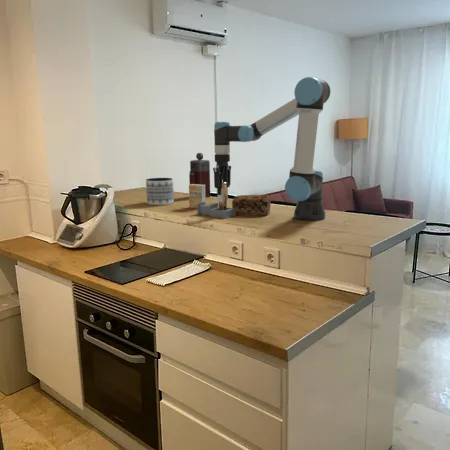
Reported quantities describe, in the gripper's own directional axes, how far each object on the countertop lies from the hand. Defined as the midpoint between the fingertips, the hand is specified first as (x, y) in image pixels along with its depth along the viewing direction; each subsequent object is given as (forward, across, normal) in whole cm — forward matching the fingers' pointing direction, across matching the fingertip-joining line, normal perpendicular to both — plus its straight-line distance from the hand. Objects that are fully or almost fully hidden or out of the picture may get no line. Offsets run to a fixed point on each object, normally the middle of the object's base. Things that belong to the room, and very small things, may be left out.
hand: (222, 200), depth 234 cm
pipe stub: (+7, 0, 0) cm, 7 cm away
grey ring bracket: (+8, 0, -4) cm, 9 cm away
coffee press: (+8, -47, -47) cm, 67 cm away
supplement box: (+8, -13, -25) cm, 30 cm away
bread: (+8, -12, +10) cm, 18 cm away
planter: (+8, -16, -54) cm, 57 cm away
